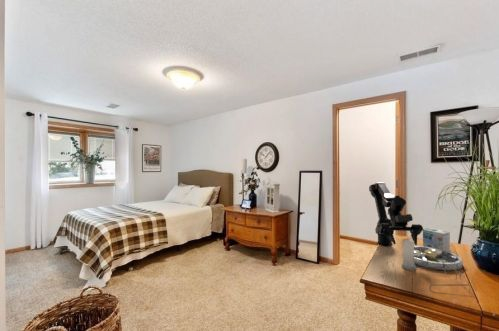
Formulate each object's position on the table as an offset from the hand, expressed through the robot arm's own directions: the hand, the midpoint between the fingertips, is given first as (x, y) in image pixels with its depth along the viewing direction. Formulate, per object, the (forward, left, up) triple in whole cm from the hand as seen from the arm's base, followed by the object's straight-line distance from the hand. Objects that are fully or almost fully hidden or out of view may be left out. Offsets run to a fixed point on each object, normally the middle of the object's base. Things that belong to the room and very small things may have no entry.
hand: (405, 244), depth 115 cm
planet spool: (+2, -2, -10) cm, 11 cm away
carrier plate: (+4, +16, -10) cm, 19 cm away
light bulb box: (-1, +36, -10) cm, 37 cm away
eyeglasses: (+15, -5, -11) cm, 19 cm away
